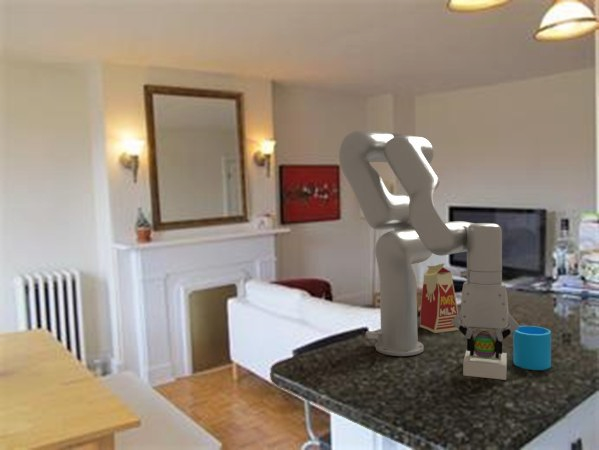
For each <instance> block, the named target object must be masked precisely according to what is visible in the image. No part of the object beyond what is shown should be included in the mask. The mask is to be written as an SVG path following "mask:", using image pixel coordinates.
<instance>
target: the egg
mask: <svg viewBox="0 0 599 450" xmlns="http://www.w3.org/2000/svg"><path fill="white" fill-rule="evenodd" d="M495 341H496V339H495V338H494V336H493V335H492V334H491V333H490V332H489V331H487V330H480V332H478V333H477V334H476V335H475V336H474V352H475V354H476V355H477V356H478V357H480V358H484V359H488V358H492V357H493V356H494V354H495Z"/></svg>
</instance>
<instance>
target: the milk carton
mask: <svg viewBox="0 0 599 450" xmlns="http://www.w3.org/2000/svg"><path fill="white" fill-rule="evenodd" d="M444 266H445V263H440V264H437V265H426V267H427V268H428V269H427V270H426V272H425V274H424V276H423V282H422V283H423V284H422V290H421V302H420V315H419V316H420V317H419V327H420V328H422V329H425V330H428V331H430V332H432V333H434V334H438V333H445V332H447V333H448V332H453V331H460V330H459V329H458V328H456V327H455V326H454V325H453V324H452V323H451V322H452V320H453V319H454V318H455V316H456V315H457V314H458V313H459V310H458V303H457V299H456V298H457V297H456V293H455V286H454V281H453V275H452V271H451V270H448V269H447V268H445V267H444Z"/></svg>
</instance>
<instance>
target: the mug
mask: <svg viewBox="0 0 599 450" xmlns="http://www.w3.org/2000/svg"><path fill="white" fill-rule="evenodd" d="M512 335H513V337H512V339H513V340H512V342H513V345H512V346H513V347H512V349H513V355H512V356H513V358H512V359H513V360H512V361H513V362H512V363H513V364H514V365H515V366H517V367H519V368H522V369H526V370H534V371H543V370H548V369H550V368H551V367H552V331H551V330H550V329H548V328H546V327H541V326H536V325H519V328H518V329H517V330H515V331H514V332H512Z"/></svg>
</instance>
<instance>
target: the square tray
mask: <svg viewBox="0 0 599 450" xmlns="http://www.w3.org/2000/svg"><path fill="white" fill-rule="evenodd" d="M507 355H508V353H507V352H502V354H499V359H498V358H495V354H494V356H493V357H492V358H488V359H484V358H480V357H478V356H477V355H476V354H475V352H474V355H473V356H470V351H467V349H466V351H465V354H464V358H463V362H462V364H463V365H462V369H463V370H462V371H463V372H462V375H463V376H467V377H473V378H474V377H477V378H485V379H486V378H487V379H494V380H496V379H497V380H502V381H503V380H505V381H506V380H507V369H508V357H507Z"/></svg>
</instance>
